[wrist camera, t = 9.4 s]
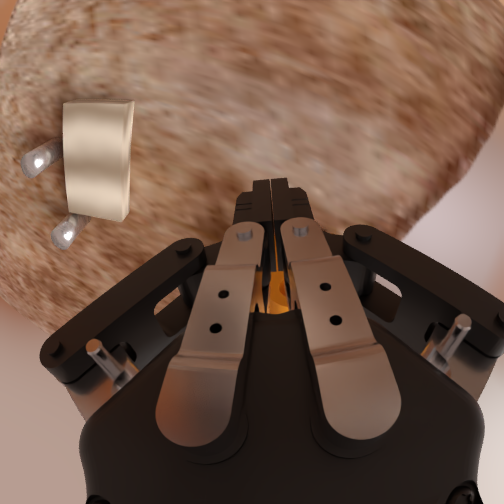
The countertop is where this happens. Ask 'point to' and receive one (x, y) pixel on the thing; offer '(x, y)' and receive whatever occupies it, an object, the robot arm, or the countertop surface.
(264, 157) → the countertop surface
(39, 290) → the countertop surface
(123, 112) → the cream curved panel
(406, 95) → the countertop surface
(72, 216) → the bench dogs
